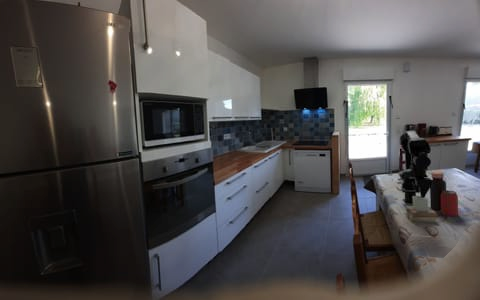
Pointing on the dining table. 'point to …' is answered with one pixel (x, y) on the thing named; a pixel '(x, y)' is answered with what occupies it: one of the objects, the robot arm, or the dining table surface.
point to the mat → (421, 222)
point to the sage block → (420, 203)
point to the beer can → (449, 203)
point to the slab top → (421, 212)
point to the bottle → (437, 190)
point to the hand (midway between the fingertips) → (419, 194)
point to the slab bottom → (421, 218)
